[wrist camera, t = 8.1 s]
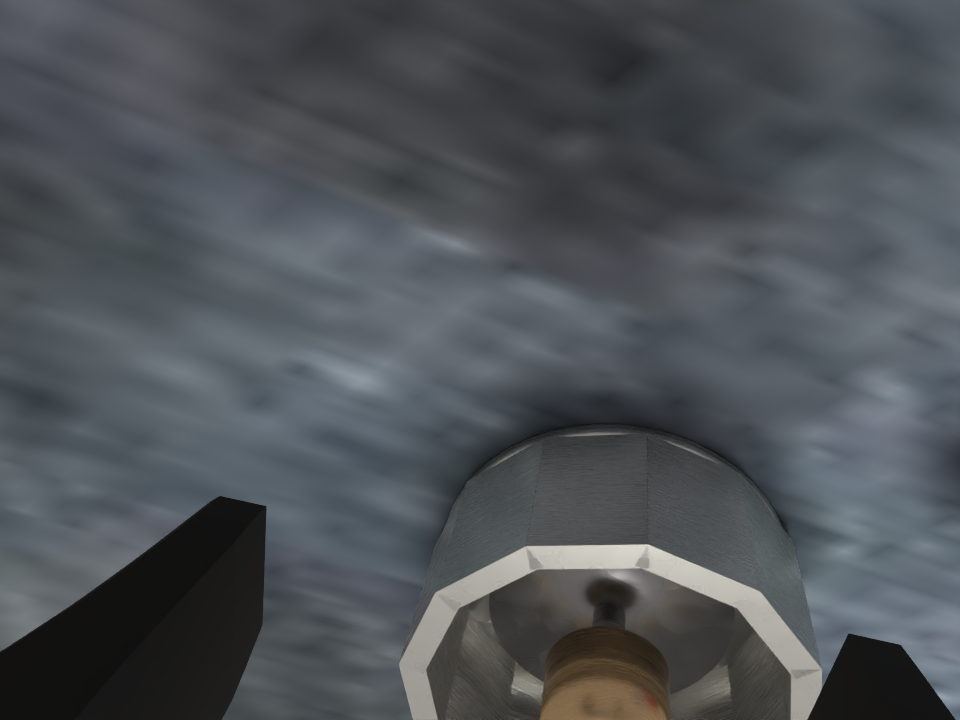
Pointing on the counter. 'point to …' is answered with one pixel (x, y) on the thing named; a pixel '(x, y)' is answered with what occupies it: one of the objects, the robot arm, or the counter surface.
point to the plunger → (609, 639)
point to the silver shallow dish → (612, 545)
